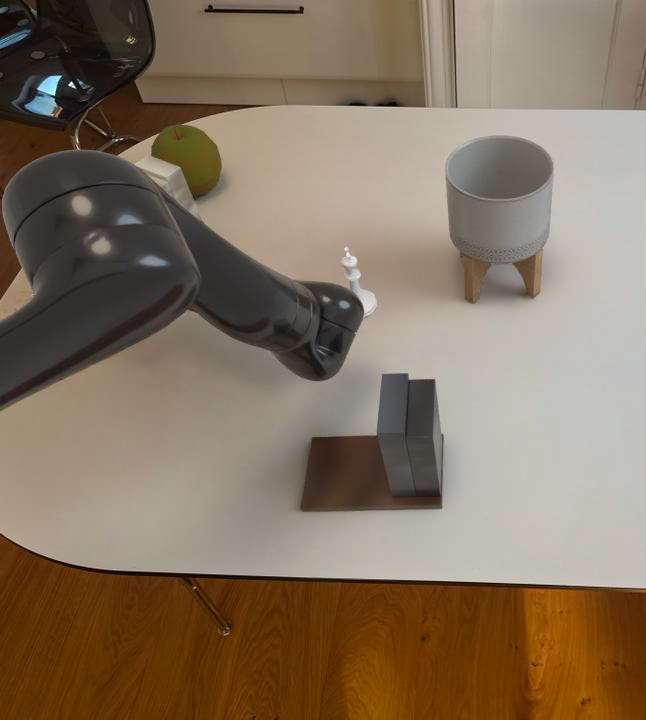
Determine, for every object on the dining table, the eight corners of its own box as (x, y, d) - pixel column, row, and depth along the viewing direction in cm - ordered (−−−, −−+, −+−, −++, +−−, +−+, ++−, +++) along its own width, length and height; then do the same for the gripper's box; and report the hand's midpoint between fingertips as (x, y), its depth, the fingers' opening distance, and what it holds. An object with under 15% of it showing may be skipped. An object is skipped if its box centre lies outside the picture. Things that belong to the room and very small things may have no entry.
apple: (155, 186, 112) (127, 124, 103) (211, 161, 116) (188, 100, 107) (183, 216, 107) (156, 154, 98) (240, 190, 111) (219, 128, 102)
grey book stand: (301, 511, 75) (270, 444, 65) (313, 440, 81) (286, 368, 71) (442, 508, 75) (433, 440, 65) (443, 437, 81) (435, 364, 70)
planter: (564, 269, 98) (575, 160, 84) (507, 323, 92) (508, 215, 78) (492, 231, 103) (491, 123, 89) (433, 280, 97) (422, 171, 83)
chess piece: (371, 288, 96) (360, 231, 89) (381, 312, 93) (371, 256, 86) (336, 298, 95) (322, 241, 88) (345, 323, 92) (331, 266, 85)
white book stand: (138, 318, 94) (93, 241, 83) (91, 295, 97) (42, 218, 86) (224, 243, 103) (194, 165, 92) (179, 224, 106) (145, 147, 95)
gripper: (238, 218, 81) (137, 179, 86) (146, 297, 73) (41, 248, 79) (255, 266, 87) (160, 226, 92) (172, 344, 79) (72, 295, 84)
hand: (105, 236), depth 85 cm, fingers open, 8 cm apart
